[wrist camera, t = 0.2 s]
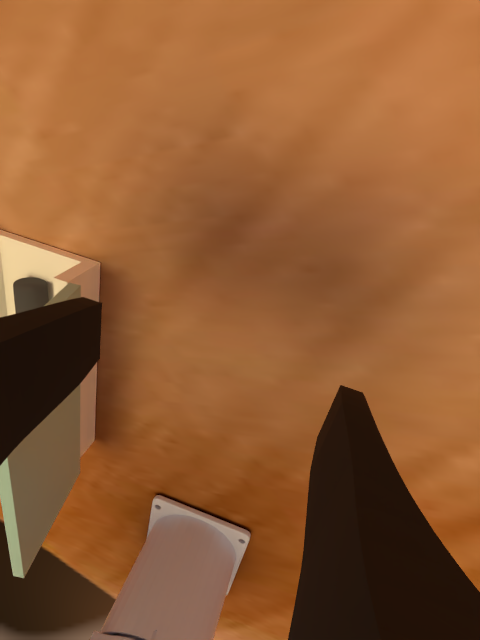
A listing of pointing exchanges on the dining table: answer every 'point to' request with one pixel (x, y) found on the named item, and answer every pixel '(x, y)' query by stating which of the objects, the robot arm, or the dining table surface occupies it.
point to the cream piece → (57, 270)
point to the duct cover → (41, 473)
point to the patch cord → (30, 293)
